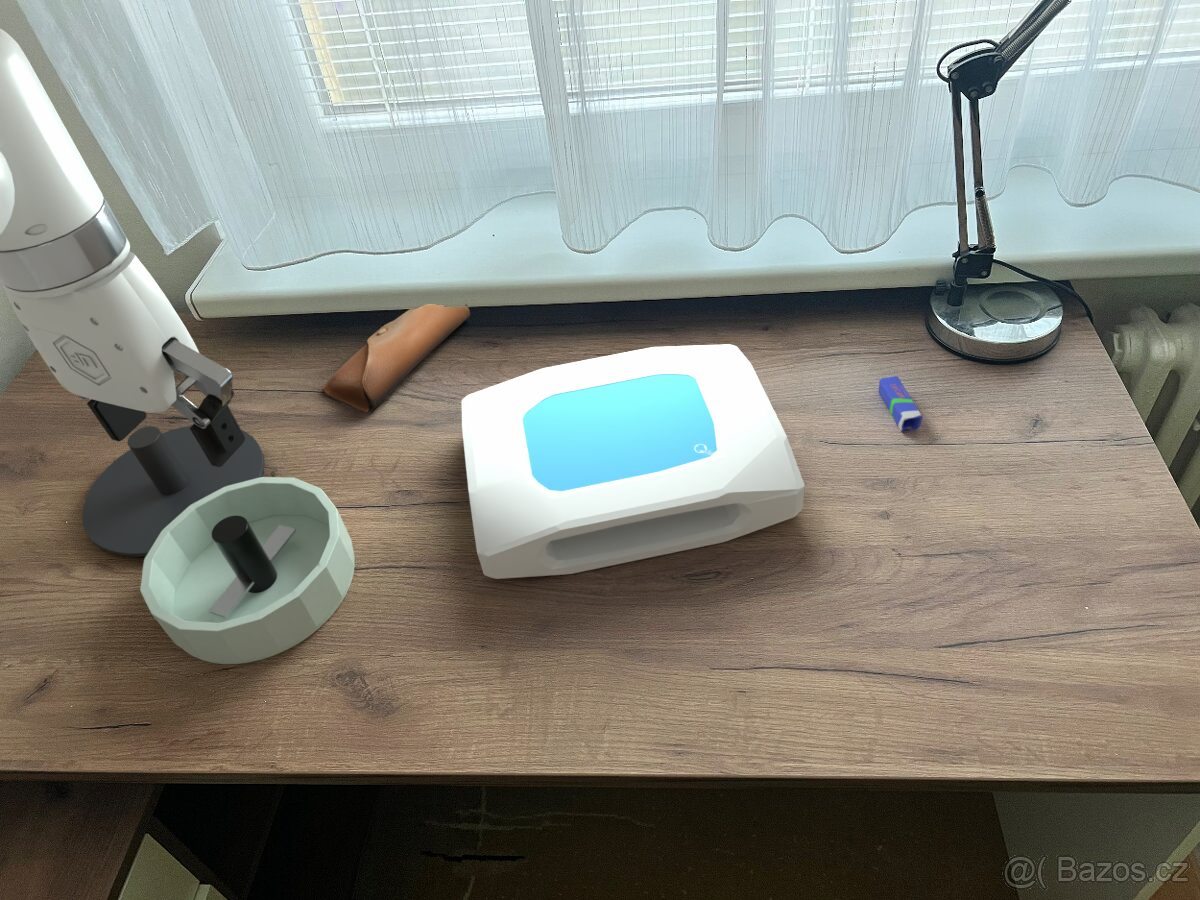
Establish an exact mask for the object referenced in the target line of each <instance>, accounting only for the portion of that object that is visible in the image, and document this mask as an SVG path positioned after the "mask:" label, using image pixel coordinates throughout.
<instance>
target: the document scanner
mask: <svg viewBox="0 0 1200 900" xmlns="http://www.w3.org/2000/svg"><path fill="white" fill-rule="evenodd" d="M460 403H461V430H462V440H463V450H464V460H465V470H466V471H465V472H466V479H467V480H466V481H467V489H468V497H469V505H470V506H469V507H470V512H471V521H472V527H473V533H474V540H475V547H476V548H475V549H476V554H477V557H478V560H479V564H480V566H481V570H482V573H483V575H484V576H485V577H488V578H490V579H491V578H492V579H495V580H500V579H513V578H514V579H516V578H517V579H518V578H529V577H532V578H533V577H545V576H560V575H572V574H577V573H581V572H587V571H592V570H596V569H601V568H607V567H612V566H616V565H620V564H621V565H622V564H626V563H630V562H634V561H639V560H645V559H649V558H654V557H658V556H659V557H660V556H664V555H669V554H674V553H679V552H683V551H688V550H693V549H698V548H702V547H706V546H707V547H708V546H712V545H717V544H721V543H725V542H726V543H727V542H729V541H731V540H734V539H737V538H739V537H742V536H745V535H748V534H751V533H753V532H757V531H759V530H762V529H766V528H768V527H771V526H773V525H776V524H779V523H782V522H784V521H787V520H790V519H793V518H795V517H796V516H797V515H798V514H799V513H800V512H801V511H802V510H803V509H804V501H805V500H804V499H805V491H806V490H805V488H806V485H805V482H804V480H803V477H802V474H801V471H800V468H799V466H798V463H797V460H796V458H795V455H794V452H793V449H792V446H791V443H790V441H789V438H788V435H787V433H786V432H785V429H784V428H783V425H782V424H781V421H780V419H779V418H778V415H777V413H776V410H775V409H774V407H773V405H772V404H771V401H770V399H769V397H768V395H767V393H766V391H765V389H764V386H763V385H762V383H761V381H760V379H759V377H758V374H757V373H756V371H755V369H754V367H753V365H752V363H751V362H750V361H749V360H748V358H747V357H746V356H745V355H744V353H743V352H742V351H741V350H740V348H739V347H738V346H737V345H734V344H727V343H726V344H704V345H701V344H700V345H677V346H675V345H674V346H652V347H651V346H650V347H646V348H642V349H636V350H631V351H627V352H625V351H624V352H621V353H616V354H615V353H614V354H611V355H605V356H600V357H595V358H589V359H584V360H579V361H575V362H573V361H572V362H569V363H564V364H559V365H553V366H548V367H543V368H540V369H537V370H534V371H532V372H528V373H526V374H523V375H520V376H517V377H514V378H512V379H508V380H506V381H502V382H500V383H498V384H495V385H491V386H489V387H486V388H484V389H481V390H477V391H475V392H472V393H469V394H467V395H465V397H463V398H462V399H461V402H460Z"/></svg>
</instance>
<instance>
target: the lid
mask: <svg viewBox="0 0 1200 900" xmlns="http://www.w3.org/2000/svg"><path fill="white" fill-rule="evenodd" d="M192 425H193V424H191V425H190V424H189V425H186V426H182V427H177V428H174V429H170V430H167V431H164V432H161V430H160V428H159V427H157V426H153V425H152V426H151V425H150V426H144V427H141V428H138V429H137V430H135V431H134V432H132V433H131V434H130V436H129V437H128V439H127V443H126V444H127V446H128V447H129V449H128V450H127V451H125V452H124V453H123V454H121V455H120V456H119V457H118V458H116V459H115V460H114V461H113V462H112V463H111V464H109V466H107V467H106V468H105V470H103V471H102V472H101V473H100V475H99V476H98V477H97V479H96V480H95V481H94V483H93V484H92V485H91V487H90V489H89V490H88V492H87V495H86V496H85V499H84V502H83V506H82V510H81V522H82V527H83V530H84V532H85V533H86V535H87V537H88V538H89V539H90V540H91V541H92V543H93V544H95V546H96V547H98V548H100V549H101V550H103V551H105V552H107V553H110V554H113V555H117V556H121V557H130V558H131V557H133V558H136V557H137V558H139V557H141V558H143V557H144V558H145V557H146V556H147V554H148V552H149V551H150V549H151V547H152V546H153V544H154V543H155V541H156V539H157V538H158V536H159V534H160V533H161V531H162V530H163V529H164V528H165V527H166V526H167V525H169V524H170V523H171V522H172V521H173V520H174V519H175V518H176V517H177V516H179V515H180V514H181V513H182V512H183V511H184V510H185V509H186V508H187V507H189V506H190V505H191V504H193V503H195V502H197V501H199V500H201V499H203V498H204V497H206V496H208V495H210V494H212V493H214V492H216V491H218V490H219V489H221V488H223V487H226V486H229V485H233V484H237V483H240V482H244V481H248V480H252V479H256V478H260V477H264V472H265V455H264V453H263V450H262V448H261V446H260V444H259V442H258V441H257V440H256V439H255V438H254V437H253V436H252V435H251V434H250V433H248V432H247V431H246V430H244V429H241V431H242V433H243V434H244V436H245V441H244V443H243V444H242V445H241V446H240V447H239V448H238V449H237V450H236V451H235V453H234V454H233V455H232V456H231V457H230V458H229V459H228V460H227V461H226V462H225V463H224V465H223V466H221V467H216V466H212V465H211V463H210V462H209V460H208V458H207V457H206V455H205V453H204V452H203V450H202V448H201V447H200V445H199V443H198V442H197V440H196V438H195V437H194V435H193V433H192V432H191V430H190V428H191V426H192Z"/></svg>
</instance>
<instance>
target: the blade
mask: <svg viewBox="0 0 1200 900" xmlns="http://www.w3.org/2000/svg"><path fill="white" fill-rule="evenodd" d="M295 532H296V529H295V528H291V527H287V526H284V525H279V526H278V527H277V528H276V530H275V531H274V532H273V533H272V534H271V536H270V537H269V538H268V539H267V541H266V542H265V543H264V544H263V545H261V544H260V542H259V540H258V539H257V537H256V535H255V533H254V532H253V530H252V528H251V527H250V525H249V523H248V521H247V520H246V519H245V518H244V517H242V516H230V517H227V518H224V519H223V520H221V521H220V522H218V523H217V524H216V525H215V527H214V528H213V530H212V539H213V540H214V542H215V543H216V545H217V546H218V548H219V550H220V551H221V553H222V554H223V556H224V557H225V559H226V560H227V562H228V564H229V565H230V567H231V568H232V570H233V571H234V573H235V575H236V576H237V577H236V578H235V579H234V581H233V582H232V583H231V584H230V585H229V587H228V588H227V589H226V590H225V592H224V593H223V594H222V595H221V596H220V598H219V599H218V600H217V601H216V602H215V604H214V605H213V606H212V607H211V609H210V610H209V612H210V613H212V614H215V615H218V616H221V617H224V618H227V617H228V616H229V614H230V613H231V612H232V611H233V609H234V608H235V607H236V606H237V604H238V603H239V602H240V601H241V599H242V598H243V597H244V596H245V594H246V593H247V592H250V593H260V592H263V591H265V590H267V589H269V588H270V587H271V586H272V585H273V584H274V583H275V581H276V579H277V571H276V569H275V568H274V566H273V564H272V563H271V562H272V561H273V559H274V558H275V557H276V556H277V554H278V553H279V552H280V551H281V550H282V548H283V547H284V546H285V545H286V543H287V542H288V541H289V540H290V538H291V537H292V536H293V535H294V533H295Z"/></svg>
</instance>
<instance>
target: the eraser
mask: <svg viewBox="0 0 1200 900" xmlns="http://www.w3.org/2000/svg"><path fill="white" fill-rule="evenodd" d="M878 383H879V384H878V394H879V396H880V398H881V399H882V401H883V403H884V405H885V406H886V408H887V409H888V411H889V413H890V415H891V417H892V418H893V420H894V422H895V423H896V426H897V427H898V429H899V430H900V432H901V433H902V432H905V431H911V430H919V429H920V427H921V423H922V421H923V416H922V414H921V412H920V411H919V409H918V407H917V405H916V404H915V402H914V401H913V399H912V397H911V396H910V394H909V392H908V391H907V389H906V387H905V386H904V384H903V382H902V380H901V379H900V378H899V376H896V375H895V376H888V377H883V378H881V379H880V380H879V382H878Z"/></svg>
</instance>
